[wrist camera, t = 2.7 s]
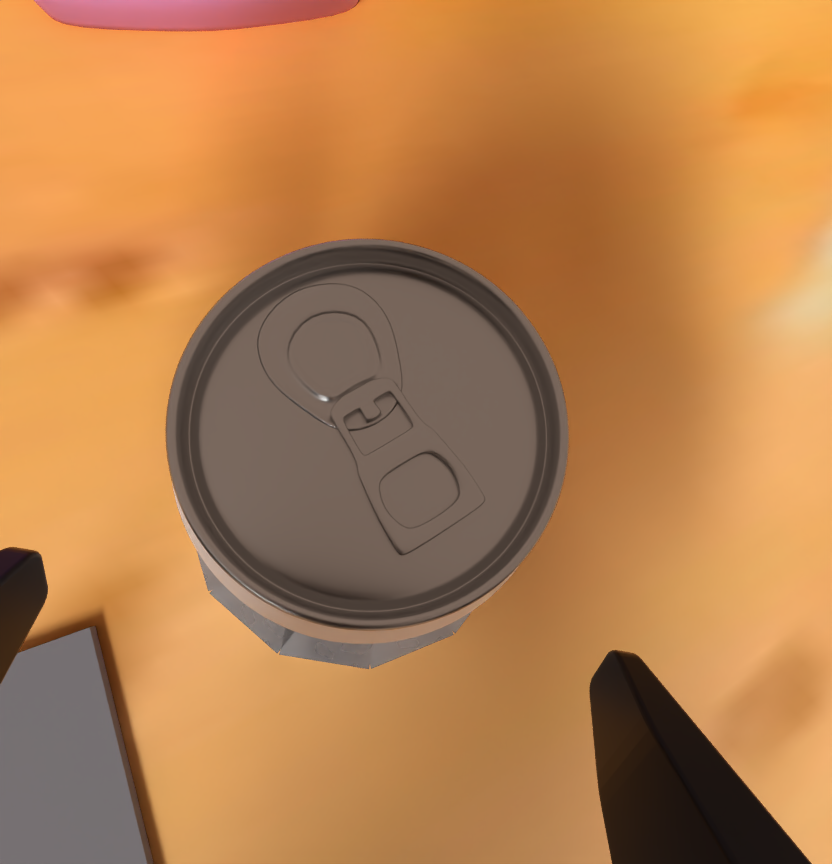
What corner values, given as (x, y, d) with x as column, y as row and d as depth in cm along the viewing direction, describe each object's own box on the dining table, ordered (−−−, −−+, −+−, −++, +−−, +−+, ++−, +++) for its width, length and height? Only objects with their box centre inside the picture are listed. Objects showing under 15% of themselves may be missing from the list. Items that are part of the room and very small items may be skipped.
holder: (528, 584, 19) (561, 590, 16) (261, 693, 17) (245, 720, 14) (435, 341, 21) (450, 307, 18) (181, 417, 19) (152, 392, 16)
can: (385, 381, 20) (442, 148, 9) (480, 530, 20) (683, 493, 8) (226, 471, 19) (40, 336, 7) (323, 636, 18) (288, 782, 6)
